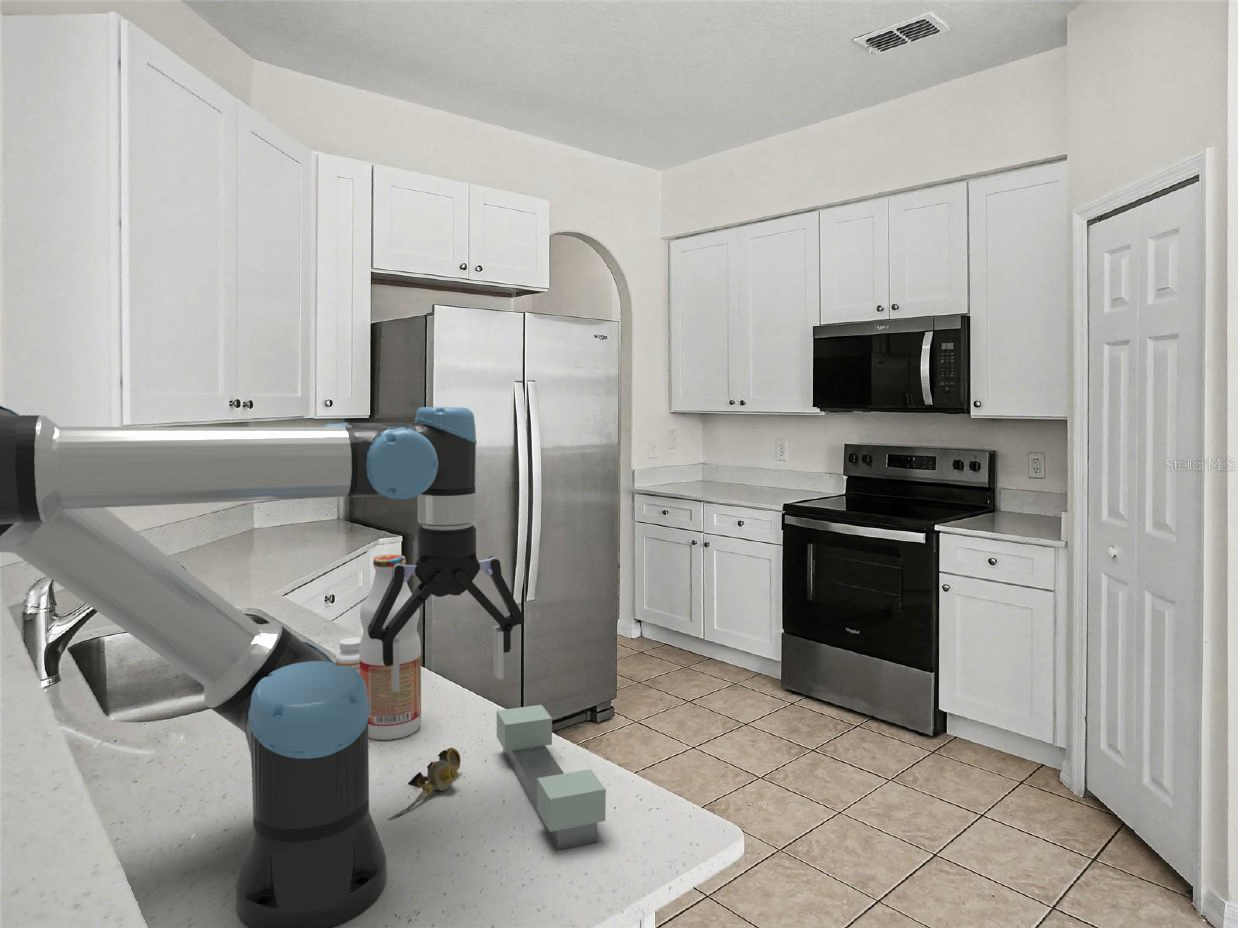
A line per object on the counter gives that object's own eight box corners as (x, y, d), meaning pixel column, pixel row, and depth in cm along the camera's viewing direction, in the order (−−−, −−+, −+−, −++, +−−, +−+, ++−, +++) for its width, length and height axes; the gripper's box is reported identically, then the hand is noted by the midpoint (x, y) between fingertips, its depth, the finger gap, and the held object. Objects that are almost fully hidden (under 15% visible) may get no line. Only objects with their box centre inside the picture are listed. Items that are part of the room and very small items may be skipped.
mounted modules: (549, 831, 94) (550, 799, 93) (496, 736, 120) (496, 710, 119) (605, 820, 96) (605, 789, 96) (541, 729, 122) (541, 704, 122)
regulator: (411, 834, 99) (479, 764, 112) (399, 805, 99) (469, 739, 112) (370, 837, 103) (441, 769, 116) (358, 810, 102) (430, 745, 115)
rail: (557, 850, 94) (557, 830, 94) (503, 751, 120) (503, 735, 120) (597, 842, 96) (597, 822, 96) (535, 746, 122) (535, 730, 122)
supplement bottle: (350, 686, 146) (350, 634, 145) (374, 690, 144) (373, 638, 143) (329, 696, 141) (328, 642, 140) (353, 701, 139) (352, 646, 138)
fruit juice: (393, 746, 121) (391, 565, 119) (347, 733, 126) (344, 559, 123) (433, 724, 130) (432, 555, 127) (389, 713, 134) (387, 549, 132)
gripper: (531, 516, 112) (531, 662, 114) (345, 525, 103) (348, 683, 105) (546, 524, 105) (546, 679, 107) (348, 534, 96) (351, 704, 98)
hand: (448, 682), depth 106 cm, fingers open, 13 cm apart
